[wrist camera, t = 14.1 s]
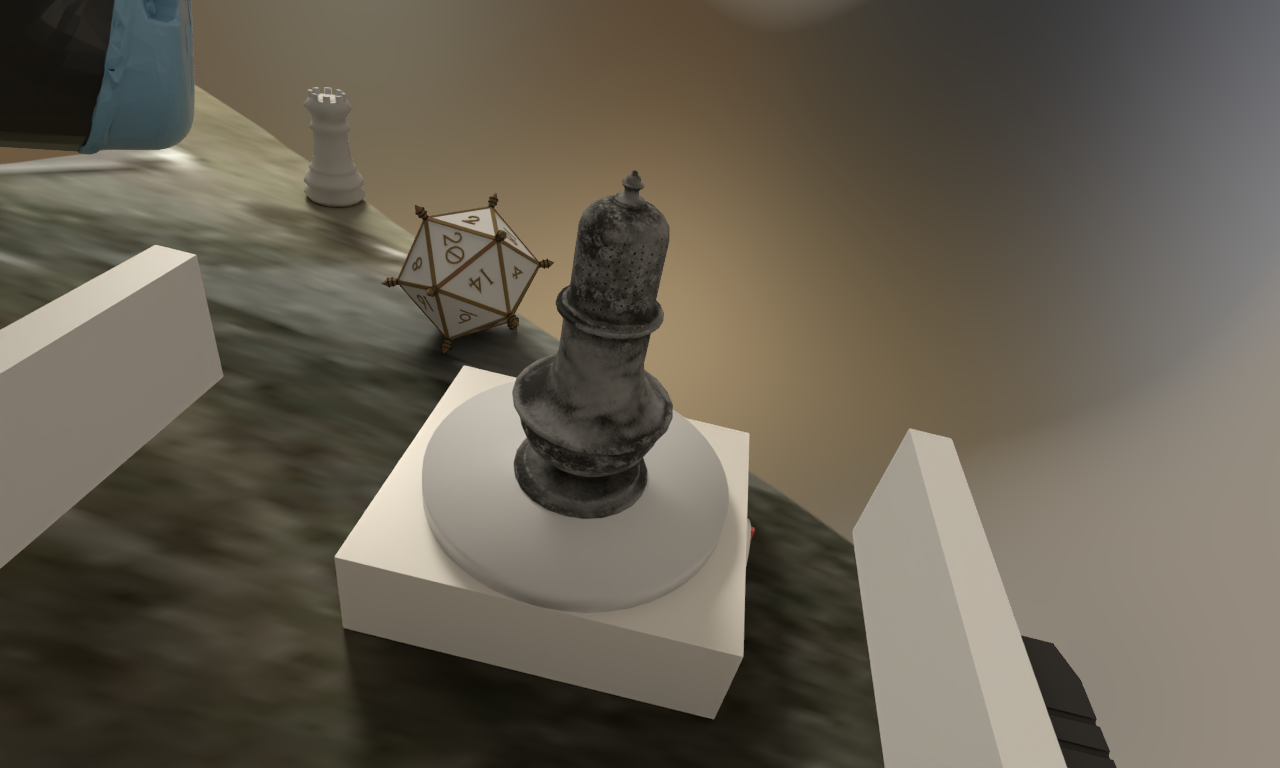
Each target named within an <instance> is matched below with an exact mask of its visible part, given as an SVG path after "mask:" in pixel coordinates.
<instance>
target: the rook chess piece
mask: <svg viewBox="0 0 1280 768" xmlns="http://www.w3.org/2000/svg"><path fill="white" fill-rule="evenodd" d="M324 90H325V94H320V89H319V88H318V87H316V88H312V90H308V96H309V97H308V98H307V100H306V101H305V102H304V106H305V107H306V109H307V110H308V111H309V112H310V113H311V116H312V122H311V123H310V125H309V127H310V128H311V129H312V130H313V138H314V142H313V158H312V162H311V163H310V164H309V169H308V170H307V171H306V173H305V178H304V182H305V183H306V184H307V185H308V186H307V187H305V190H304V192H305V193H306V195H307V196H308V197H309V198H310V199H311V200H312V201H313V202H315V203H317V204H319V205H324V206H329V207H347V206H352V205H355V204H358V203H359V202H360V201H361V200H362V199H363V197H364V196H365V190H363V189H362V188H361V187H362V186H363V185H364V180H363V177H362V175H360V174H359V172H357V167H356V166H355V165H354V163H353V160H352V157H351V152H350V148H349V143H348V132H349V130H350V127H349V126H348V124H347V122H346V117H347V116H348V114H349V113H350V112H351V110H352V107H351V105H350V104H349V103H348V102H347V100H346V94H345V93H343V91H341V90H336V95H332V89H331V88H327V87H324Z"/></svg>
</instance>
